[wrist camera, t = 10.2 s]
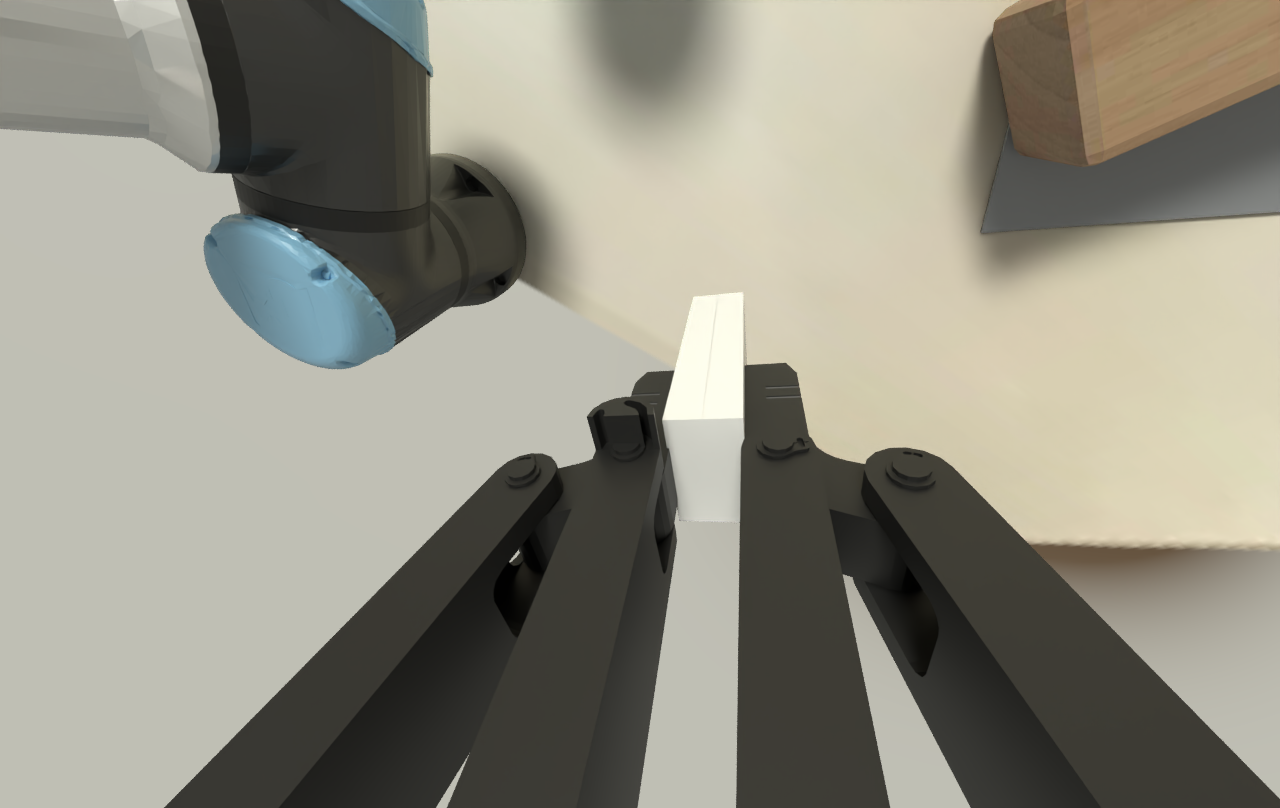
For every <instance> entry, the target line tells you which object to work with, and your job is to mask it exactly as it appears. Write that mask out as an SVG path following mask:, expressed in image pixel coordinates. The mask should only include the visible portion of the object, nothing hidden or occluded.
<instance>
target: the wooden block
mask: <svg viewBox="0 0 1280 808" xmlns="http://www.w3.org/2000/svg"><path fill="white" fill-rule="evenodd" d="M992 37H993V42H994V47H995V52H996V57H997V62H998V67H999V73H1000V78H1001V83H1002V88H1003V93H1004V98H1005V103H1006V108H1007V114H1008V119H1009V124H1010V129H1011V134H1012V139H1013V144H1014V149H1015V150H1016V151H1017V152H1018V153H1019V154H1020V155H1022V156H1027V157H1032V158H1037V159H1042V160H1047V161H1052V162H1058V163H1063V164H1068V165H1073V166H1078V167H1085V166H1093V165H1098V164H1100V163H1102V162H1104V161H1107V160H1109V159H1111V158H1113V157H1116V156H1118V155H1120V154H1123V153H1125V152H1127V151H1129V150H1132V149H1134V148H1136V147H1138V146H1141V145H1143V144H1145V143H1148V142H1150V141H1152V140H1154V139H1157V138H1159V137H1161V136H1163V135H1166V134H1168V133H1170V132H1173V131H1175V130H1177V129H1179V128H1182V127H1184V126H1186V125H1188V124H1191V123H1193V122H1195V121H1198V120H1200V119H1202V118H1204V117H1207V116H1209V115H1211V114H1213V113H1216V112H1218V111H1220V110H1223V109H1225V108H1227V107H1229V106H1232V105H1234V104H1236V103H1238V102H1241V101H1243V100H1245V99H1248V98H1250V97H1252V96H1254V95H1257V94H1259V93H1261V92H1263V91H1266V90H1268V89H1270V88H1273V87H1275V86H1277V85H1279V84H1280V0H1020V1H1018V2H1017V3H1015V4H1013V5H1012V6H1010V7H1008V8H1007V9H1006V10H1005V11H1004V12H1003V13H1002V14H1001V15H1000V16H999V17H998V18H997V19H996V20H995V22H994V28H993V33H992Z"/></svg>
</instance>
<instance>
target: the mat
mask: <svg viewBox="0 0 1280 808" xmlns="http://www.w3.org/2000/svg"><path fill="white" fill-rule="evenodd" d="M1271 212H1280V84H1279V85H1277V86H1275V87H1273V88H1270V89H1268V90H1266V91H1263V92H1261V93H1259V94H1257V95H1254V96H1252V97H1250V98H1248V99H1245V100H1243V101H1241V102H1238V103H1236V104H1234V105H1232V106H1229V107H1227V108H1225V109H1223V110H1220V111H1218V112H1216V113H1213V114H1211V115H1209V116H1207V117H1204V118H1202V119H1200V120H1198V121H1195V122H1193V123H1191V124H1188V125H1186V126H1184V127H1182V128H1179V129H1177V130H1175V131H1173V132H1170V133H1168V134H1166V135H1163V136H1161V137H1159V138H1157V139H1154V140H1152V141H1150V142H1148V143H1145V144H1143V145H1141V146H1138V147H1136V148H1134V149H1132V150H1129V151H1127V152H1125V153H1123V154H1120V155H1118V156H1116V157H1113V158H1111V159H1109V160H1107V161H1104V162H1102V163H1100V164H1098V165H1093V166H1085V167H1078V166H1073V165H1068V164H1063V163H1058V162H1052V161H1047V160H1042V159H1037V158H1032V157H1027V156H1022V155H1020V154H1019V153H1018V152H1017V151H1016V150H1015V149H1014V144H1013V139H1012V134H1011V129H1010V124H1008V128H1007V132H1006V136H1005V140H1004V143H1003V147H1002V151H1001V155H1000V159H999V163H998V167H997V170H996V174H995V178H994V182H993V186H992V190H991V194H990V197H989V201H988V205H987V209H986V213H985V217H984V220H983V224H982V228H981V233H989V232H1004V231H1018V230H1032V229H1046V228H1060V227H1074V226H1088V225H1102V224H1116V223H1130V222H1144V221H1158V220H1172V219H1186V218H1200V217H1214V216H1229V215H1243V214H1257V213H1271Z"/></svg>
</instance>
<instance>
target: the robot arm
mask: <svg viewBox="0 0 1280 808" xmlns="http://www.w3.org/2000/svg"><path fill="white" fill-rule="evenodd" d="M430 77H433V68H432V65H431V64H430V62H429V45H428V23H427V12H426V7H425V4H424V1H423V0H0V129H10V130H26V131H42V132H57V133H73V134H88V135H104V136H119V137H134V138H145V139H147V140H150V141H152V142H154V143H157V144H159V145H160V146H162V147H163V148H165V149H166V150H168V151H169V152H171V153H172V154H174V155H175V156H177V157H178V158H180V159H181V160H183V161H184V162H186V163H187V164H189V165H190V166H192V167H193V168H195V169H196V170H198V171H200V172H208V173H231V174H232V178H233V181H234V186H235V189H236V194H237V198H238V202H239V206H240V211H241V213H240V214H234V215H229V216H226V217H223V218H222V219H221V220H220V221H219V223H217V224H215V225H214V226H213V227H212V228H211V231H210V232H211V233H210V234H208V235H207V236H206V237H205V241H204V255H205V261H206V265H207V268H208V270H209V273H210V275H211V277H212V279H213V281H214V283H215V285H216V287H217V289H218V290H219V292H220V293H221V295H222V296H223V298H224V299H225V300H226V302H227V303H228V304H229V306H230V307H231V308H232V309H233V310H234V312H235V313H236V314H237V315H238V316H239V317H240V318H241V319H242V320H243V321H244V322H245V323H246V324H247V325H248V326H249V327H250V328H252V329H253V330H254V331H255V332H256V333H257V334H258V335H259V336H261V337H262V338H263V339H264V340H266V341H267V342H268V343H270V344H271V345H273V346H274V347H276V348H277V349H279V350H280V351H282V352H284V353H286V354H287V355H289V356H291V357H293V358H295V359H298V360H300V361H302V362H305V363H307V364H310V365H314V366H317V367H322V368H328V369H346V368H351V367H355V366H358V365H360V364H362V363H364V362H366V361H367V360H369V359H371V358H373V357H375V356H377V355H381V354H384V353H386V352H388V351H389V350H391V349H392V348H393V347H394V346H395V345H397V344H398V343H400V342H401V341H403V340H404V339H406V338H407V337H408V336H410V335H411V334H413V333H414V332H416V331H417V330H418V329H420V328H421V327H423V326H424V325H426V324H427V323H429V322H430V321H432V320H433V319H435V318H436V317H437V316H439V315H440V314H442V313H443V312H444V311H446V310H447V309H449V308H450V307H458V306H470V305H479V304H483V303H486V302H489V301H491V300H493V299H495V298H497V297H498V296H500V295H501V294H502V293H504V292H505V291H506V290H508V289H509V288H510V287H511V286H512V285H513V284H514V283H515V281H516V280H517V278H518V277H519V275H520V273H521V270H522V268H523V264H524V260H525V253H526V241H525V233H524V228H523V224H522V220H521V218H520V215H519V212H518V210H517V208H516V206H515V204H514V202H513V200H512V198H511V197H510V195H509V194H508V192H507V191H506V190H505V188H504V187H503V186H502V185H501V183H500V182H499V181H498V180H497V179H496V178H495V177H494V176H493V175H492V174H491V173H489V172H488V171H487V170H486V169H484V168H483V167H482V166H480V165H478V164H477V163H475V162H473V161H471V160H469V159H467V158H464V157H461V156H458V155H453V154H432V155H430ZM587 419H588V423H589V426H590V430H591V433H592V437H593V441H594V444H595V448H596V452H595V454H594V456H593V459H592V460H589V461H586V462H583V463H580V464H576V465H571V466H567V467H563V468H558V467H557V465H556V463H555V461H554V460H553V459H552V458H551V457H550V456H547V455H544V454H527V455H523V456H519V457H517V458H515V459H513V460H510V461H508V462H507V463H506V464H504V465H503V466H502V467H501V468H499V469H498V470H497V471H496V472H495V473H494V474H493V475H492V476H491V477H490V478H489V479H488V480H487V481H486V482H485V483H484V484H483V485H482V486H481V487H480V488H479V489H478V490H477V491H476V492H475V493H474V494H473V495H472V496H471V497H470V498H469V499H468V500H467V501H466V502H465V504H463V505H462V506H461V507H460V508H459V510H457V511H456V512H455V513H454V515H452V517H451V518H450V519H449V520H448V521H447V522H446V523H445V524H444V525H443V526H442V527H441V528H440V529H439V530H438V531H437V532H436V533H435V534H434V535H433V536H432V537H431V538H430V539H429V540H428V541H427V542H426V543H425V544H424V545H423V546H422V547H421V548H420V549H419V550H418V551H417V552H416V553H415V554H414V555H413V556H412V557H411V558H410V559H409V560H408V561H407V562H406V563H405V564H404V565H403V566H402V567H401V568H400V569H399V570H398V571H397V572H396V573H395V574H394V575H393V576H392V577H391V578H390V579H389V580H388V581H387V582H386V583H385V585H384V586H383V587H381V588H380V589H379V590H378V592H377V593H376V594H375V595H374V596H373V597H372V598H371V599H370V600H369V601H368V602H367V603H366V604H365V605H364V606H363V607H362V608H361V609H360V610H359V611H358V612H357V613H356V614H355V615H354V616H353V617H352V618H351V619H350V620H349V621H348V622H347V623H346V624H345V625H344V626H343V627H342V628H341V629H340V630H339V631H338V632H337V633H336V634H335V635H334V636H333V637H332V638H331V639H330V640H329V641H328V642H327V643H326V644H325V645H324V646H323V647H322V648H321V649H320V650H319V651H318V653H316V654H315V655H314V656H313V657H312V658H311V659H310V660H309V662H308V663H306V664H305V666H304V667H303V668H302V669H301V670H300V671H299V672H298V673H297V674H296V675H295V676H294V677H293V678H292V679H291V680H290V681H289V682H288V683H287V684H286V685H285V686H284V687H283V688H282V689H281V690H280V691H279V692H278V693H277V694H276V695H275V696H274V697H273V698H272V699H271V700H270V701H269V702H268V703H267V704H266V705H265V706H264V707H263V708H262V709H261V710H260V711H259V712H258V713H257V714H256V715H255V716H254V717H253V718H252V719H251V720H250V721H249V722H248V723H247V724H246V725H245V726H244V727H243V728H242V729H241V730H240V731H239V732H238V733H237V734H236V735H235V737H234V738H233V739H232V740H231V741H230V742H229V743H228V744H227V745H226V746H225V747H224V748H223V749H222V750H221V751H220V752H219V753H218V754H217V755H216V756H215V757H214V758H213V759H212V760H211V761H210V762H209V763H208V764H207V765H206V766H205V767H204V768H203V769H202V770H201V771H200V772H199V773H198V774H197V775H196V776H195V777H194V778H193V779H192V780H191V781H190V782H189V783H188V784H187V785H186V786H185V787H184V788H183V789H182V790H181V791H180V792H179V793H178V794H177V795H176V796H175V797H174V798H173V799H172V800H171V802H169V803H168V804H167V806H166V807H164V808H436V806H437V805H438V803H439V802H440V800H441V798H442V797H443V795H444V794H445V792H446V790H447V789H448V787H449V786H450V784H451V782H452V781H453V779H454V777H455V776H456V774H457V772H458V771H459V769H460V768H461V766H462V764H463V763H464V761H465V759H466V758H467V756H468V755H469V756H468V759H467V761H466V764H465V766H464V768H463V771H462V773H461V776H460V778H459V780H458V783H457V785H456V788H455V790H454V792H453V795H452V797H451V800H450V802H449V804H448V807H447V808H637V806H638V800H639V793H640V786H641V779H642V773H643V766H644V759H645V752H646V745H647V739H648V732H649V725H650V719H651V712H652V705H653V698H654V692H655V685H656V678H657V671H658V665H659V658H660V650H661V644H662V637H663V631H664V624H665V617H666V610H667V603H668V597H669V589H670V584H671V577H672V570H673V563H674V557H675V550H676V543H677V538H676V530H675V524H674V520H675V514H676V508H677V510H678V515H679V520H680V521H702V522H739V523H740V561H739V562H740V563H739V564H740V565H739V638H738V716H737V717H738V718H737V719H738V720H737V722H738V723H737V724H738V725H737V794H736V795H737V796H736V808H890V805H889V800H888V795H887V790H886V785H885V780H884V775H883V771H882V765H881V761H880V756H879V751H878V746H877V741H876V737H875V731H874V726H873V721H872V716H871V712H870V707H869V702H868V697H867V692H866V687H865V682H864V677H863V672H862V668H861V663H860V658H859V653H858V648H857V643H856V638H855V633H854V628H853V623H852V619H851V614H850V609H849V604H848V599H847V594H846V589H845V584H844V579H843V574H844V575H847V576H850V577H853V580H854V584H855V586H856V588H857V590H858V591H859V593H860V595H861V597H862V599H863V601H864V603H865V605H866V607H867V609H868V611H869V612H870V615H871V617H872V618H873V620H874V622H875V624H876V626H877V628H878V630H879V632H880V634H881V636H882V638H883V640H884V641H885V643H886V645H887V647H888V649H889V651H890V653H891V655H892V657H893V659H894V661H895V663H896V665H897V666H898V668H899V670H900V672H901V674H902V676H903V678H904V680H905V682H906V684H907V686H908V688H909V690H910V692H911V693H912V695H913V697H914V699H915V701H916V703H917V705H918V707H919V709H920V711H921V713H922V715H923V716H924V719H925V720H926V722H927V724H928V726H929V728H930V730H931V732H932V734H933V736H934V738H935V740H936V742H937V744H938V745H939V747H940V749H941V751H942V753H943V755H944V757H945V759H946V761H947V763H948V765H949V767H950V768H951V770H952V772H953V774H954V776H955V778H956V780H957V782H958V784H959V786H960V788H961V790H962V792H963V793H964V795H965V797H966V799H967V801H968V803H969V805H970V807H971V808H1280V799H1279V798H1278V797H1277V796H1276V795H1275V794H1274V793H1273V792H1272V791H1271V790H1270V789H1269V788H1268V787H1267V786H1266V785H1265V784H1264V783H1263V782H1262V781H1261V779H1259V777H1258V776H1256V774H1255V773H1254V772H1253V771H1252V770H1250V768H1249V767H1248V766H1247V765H1246V764H1245V763H1244V762H1243V761H1242V760H1241V759H1240V758H1239V757H1238V756H1237V755H1236V754H1235V753H1234V752H1233V751H1232V750H1231V749H1230V748H1229V747H1228V746H1227V745H1226V744H1225V743H1224V742H1223V741H1222V740H1221V739H1220V738H1219V737H1218V736H1217V735H1216V734H1215V733H1214V732H1213V731H1212V730H1211V729H1210V728H1209V727H1208V726H1207V725H1206V724H1205V723H1204V722H1203V721H1202V720H1201V719H1200V718H1199V717H1198V716H1197V715H1196V713H1195V712H1194V711H1193V710H1192V709H1191V708H1190V707H1189V706H1188V705H1187V704H1186V703H1185V702H1184V701H1183V700H1182V699H1181V698H1180V697H1179V696H1178V695H1177V694H1176V693H1175V692H1174V691H1173V690H1172V689H1171V688H1170V687H1169V686H1168V685H1167V684H1166V683H1165V682H1164V681H1163V680H1162V679H1161V678H1160V677H1159V676H1158V675H1157V674H1156V673H1155V672H1154V671H1153V670H1152V669H1151V668H1150V667H1149V666H1148V665H1147V664H1146V663H1145V662H1144V661H1143V660H1142V659H1141V658H1140V657H1139V656H1138V655H1137V654H1136V653H1135V652H1134V651H1133V649H1132V648H1131V647H1129V646H1128V644H1127V643H1126V642H1125V641H1124V640H1123V639H1122V638H1121V637H1120V636H1119V635H1118V634H1117V633H1116V632H1115V631H1114V630H1113V629H1112V628H1111V627H1110V626H1109V625H1108V624H1107V623H1106V622H1105V621H1104V620H1103V619H1102V618H1101V617H1100V616H1099V615H1098V614H1097V613H1096V612H1095V611H1094V610H1093V609H1092V608H1091V607H1090V606H1089V605H1088V604H1087V603H1086V602H1085V601H1084V600H1083V599H1082V598H1081V597H1080V596H1079V595H1078V594H1077V593H1076V592H1075V591H1074V590H1073V589H1072V588H1071V587H1070V586H1069V584H1068V583H1066V582H1065V580H1064V579H1062V577H1061V576H1060V575H1059V574H1058V573H1057V572H1056V571H1055V570H1054V569H1053V568H1052V567H1051V566H1050V565H1049V564H1048V563H1047V562H1046V561H1045V560H1044V559H1043V558H1042V557H1041V556H1040V555H1039V554H1038V553H1037V552H1036V551H1035V550H1034V549H1033V548H1032V547H1031V546H1030V545H1029V544H1028V543H1027V542H1026V541H1025V540H1024V539H1023V538H1022V537H1021V536H1020V535H1019V534H1018V533H1017V532H1016V531H1015V530H1014V529H1013V528H1012V527H1011V526H1010V525H1009V524H1008V523H1007V522H1006V520H1005V519H1004V518H1003V517H1002V516H1001V515H1000V514H999V513H998V512H997V511H996V510H995V509H994V508H993V507H992V506H991V505H990V504H989V503H988V502H987V501H986V500H985V499H984V498H983V497H982V496H981V495H980V494H979V493H978V492H977V491H976V490H975V489H974V488H973V487H972V486H971V485H970V484H969V483H968V482H967V481H966V480H965V479H964V478H963V477H962V476H961V475H960V474H959V473H958V472H957V471H956V470H955V469H954V468H953V467H952V466H951V465H949V464H948V463H947V462H945V461H944V460H943V459H941V458H940V457H937V456H935V455H933V454H930V453H928V452H925V451H922V450H916V449H911V448H888V449H885V450H881V451H878V452H875V453H874V454H873V455H872V456H870V457H869V458H868V459H867V461H866V464H861V463H856V462H851V461H846V460H843V459H839V458H835V457H833V456H831V455H829V454H826V453H824V452H823V451H821V450H820V449H819V448H817V447H816V445H815V443H814V442H813V440H812V438H810V437H809V434H808V429H807V424H806V419H805V414H804V408H803V403H802V398H801V393H800V388H799V383H798V377H797V373H796V372H795V371H794V370H793V369H792V368H791V367H790V366H789V365H787V364H786V363H776V364H759V365H747V358H746V336H745V315H744V293H743V292H739V293H728V294H718V295H707V296H697V297H693V301H692V305H691V309H690V313H689V317H688V321H687V325H686V329H685V332H684V336H683V340H682V344H681V348H680V352H679V356H678V360H677V364H676V368H675V371H659V372H647V373H646V374H645V375H644V376H643V377H641V378H640V379H639V380H638V381H637V382H636V384H635V386H634V389H633V391H632V396H631V397H622V398H616V399H613V400H609V401H607V402H604V403H602V404H600V405H599V406H597V407H595V408H594V409H593V410H592V411H591V412H590V413H589V415H588V416H587ZM518 549H519V552H520V554H519V555H518V556H517V557H516V558H515V559H514V560H513V561H512V562H510V563H509V561H510V560H511V558H512V557H513V556H514V555H515V553H516V552H517V551H518ZM469 753H470V754H469Z"/></svg>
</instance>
